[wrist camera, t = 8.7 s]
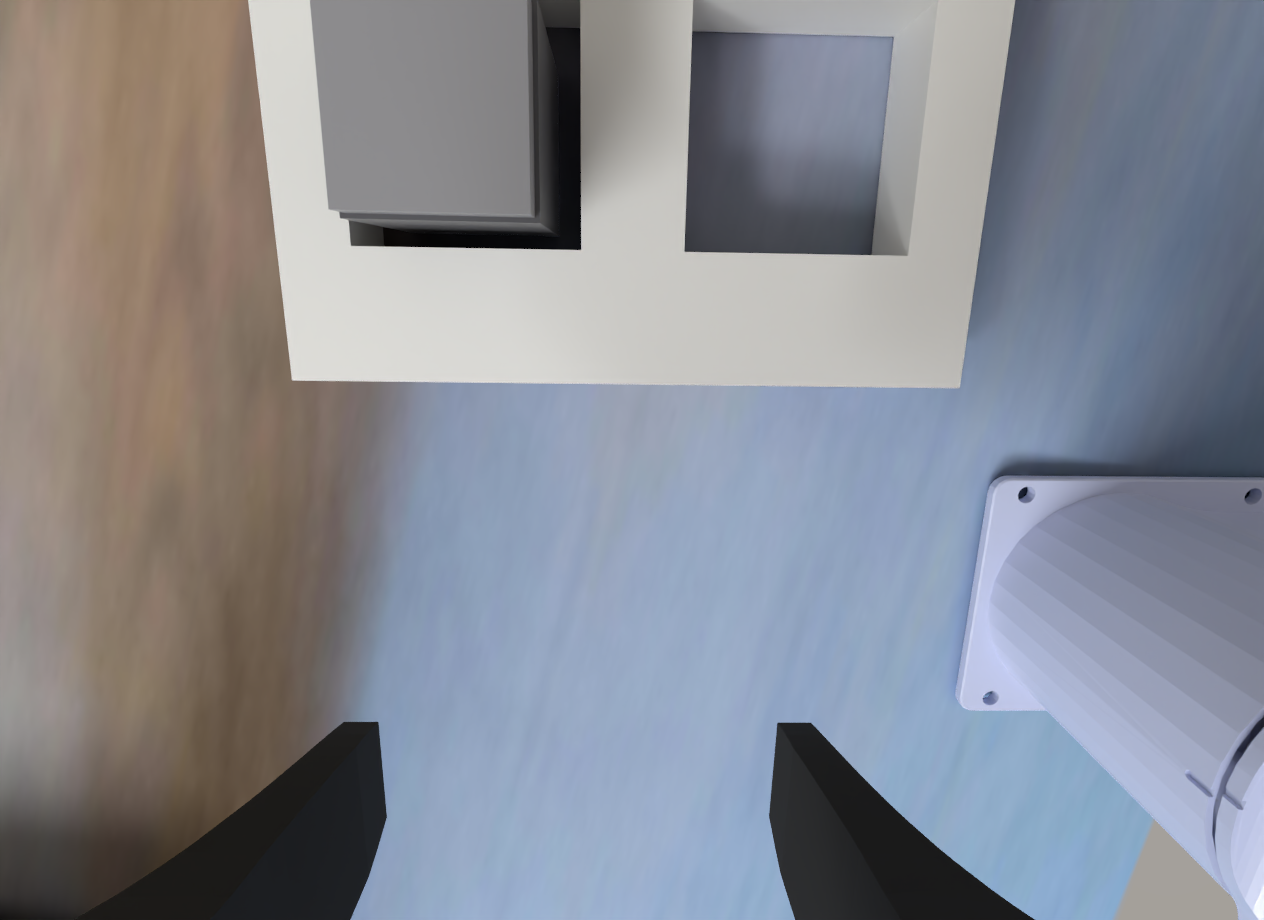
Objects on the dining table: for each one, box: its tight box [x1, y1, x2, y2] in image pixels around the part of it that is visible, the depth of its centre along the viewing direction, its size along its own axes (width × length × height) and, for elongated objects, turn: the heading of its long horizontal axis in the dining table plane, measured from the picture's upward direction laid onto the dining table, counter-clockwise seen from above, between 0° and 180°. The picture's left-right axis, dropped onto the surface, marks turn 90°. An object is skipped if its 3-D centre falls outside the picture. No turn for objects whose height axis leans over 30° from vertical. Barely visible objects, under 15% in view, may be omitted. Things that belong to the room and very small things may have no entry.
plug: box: [310, 0, 559, 237], centre depth 15 cm, size 4×4×6 cm
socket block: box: [248, 0, 1015, 388], centre depth 17 cm, size 17×12×3 cm
